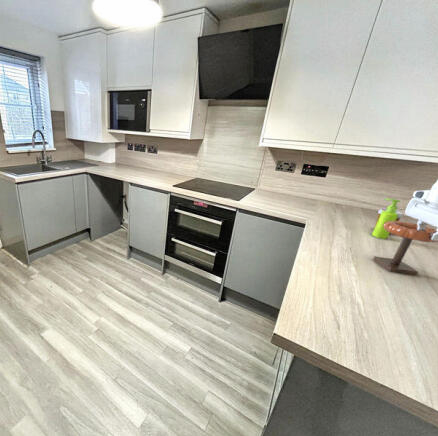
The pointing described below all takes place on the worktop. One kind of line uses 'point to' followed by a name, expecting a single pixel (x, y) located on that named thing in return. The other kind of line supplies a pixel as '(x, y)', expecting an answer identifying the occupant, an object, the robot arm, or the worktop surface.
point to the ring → (409, 230)
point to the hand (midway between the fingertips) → (426, 236)
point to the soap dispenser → (385, 219)
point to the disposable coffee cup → (385, 210)
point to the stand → (397, 260)
